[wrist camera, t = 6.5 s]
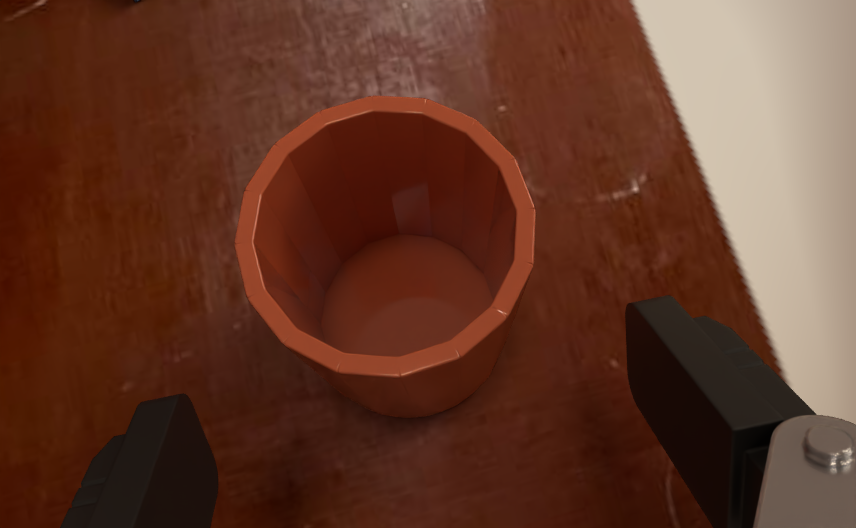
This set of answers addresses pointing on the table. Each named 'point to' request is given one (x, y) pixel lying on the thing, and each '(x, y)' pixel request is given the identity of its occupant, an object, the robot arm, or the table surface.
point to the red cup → (389, 250)
